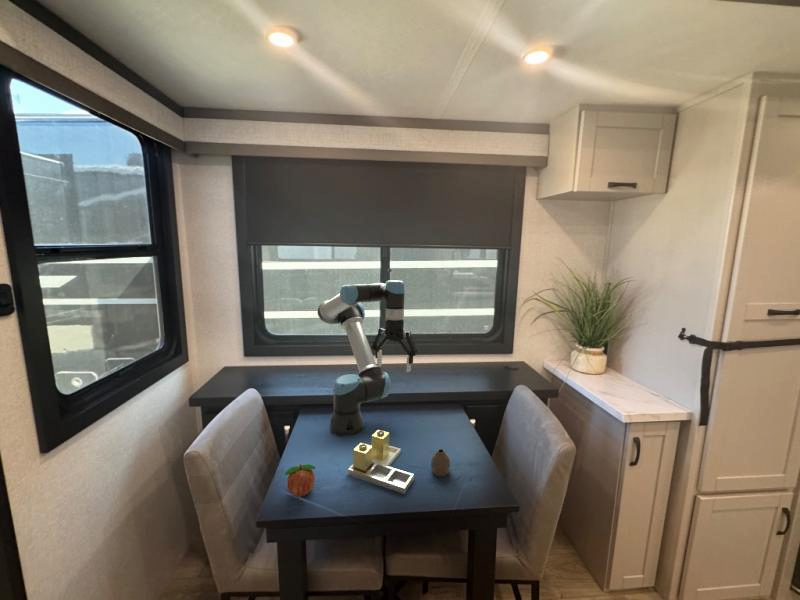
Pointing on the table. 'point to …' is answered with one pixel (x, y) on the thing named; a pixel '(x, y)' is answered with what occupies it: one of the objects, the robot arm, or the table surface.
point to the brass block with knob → (362, 457)
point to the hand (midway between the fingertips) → (393, 368)
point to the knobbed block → (380, 445)
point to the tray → (389, 456)
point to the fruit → (300, 480)
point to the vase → (440, 463)
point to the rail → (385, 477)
